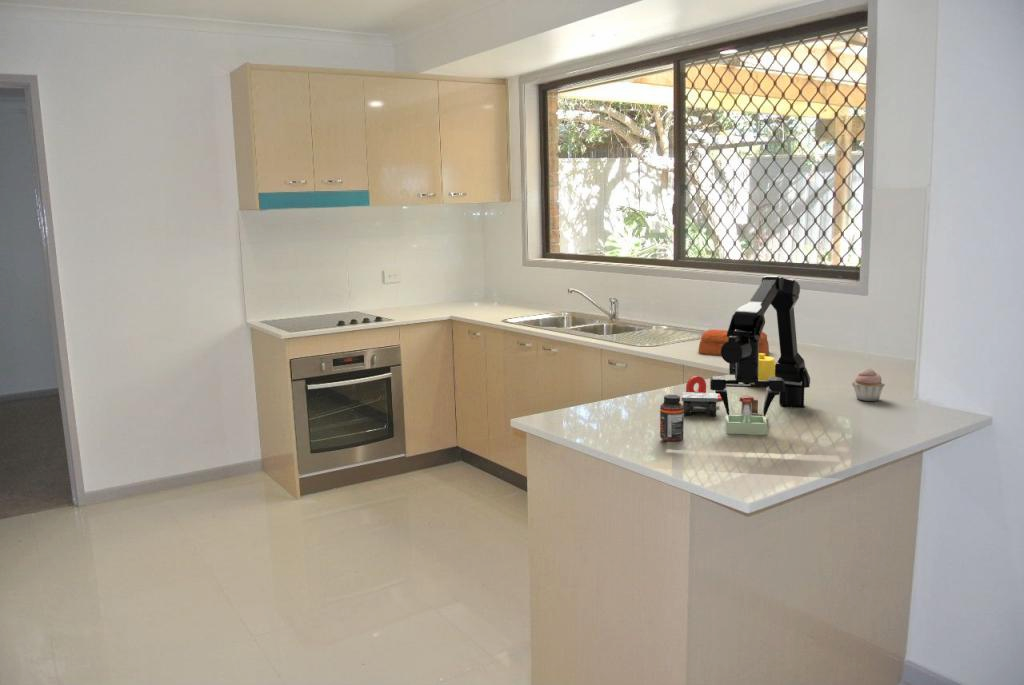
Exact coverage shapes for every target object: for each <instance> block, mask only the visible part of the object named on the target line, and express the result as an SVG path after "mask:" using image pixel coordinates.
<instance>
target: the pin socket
mask: <svg viewBox="0 0 1024 685" xmlns="http://www.w3.org/2000/svg"><path fill="white" fill-rule="evenodd" d="M751 416H763V412H762V413H751ZM765 418H766V421H767V427H769V417H768V415H767V413H766V416H765Z"/></svg>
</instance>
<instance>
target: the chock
mask: <svg viewBox="0 0 1024 685" xmlns="http://www.w3.org/2000/svg"><path fill="white" fill-rule="evenodd" d="M743 396H749V397H753V398H754V402H752V413H758V411H759V409H758V408H759V399H758V396H757V394H756V395H754V394H752V395H751V394H743V395H741V397H743Z"/></svg>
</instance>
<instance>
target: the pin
mask: <svg viewBox="0 0 1024 685" xmlns="http://www.w3.org/2000/svg"><path fill="white" fill-rule="evenodd" d="M739 402H741V409H740V412H741V414H740V415H741V422H745V423H751V413H752V402H754V398H753V397H749V396H743V397H742V396H740V397H739Z"/></svg>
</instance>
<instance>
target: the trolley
mask: <svg viewBox="0 0 1024 685" xmlns="http://www.w3.org/2000/svg"><path fill="white" fill-rule="evenodd" d="M718 395H719V393H715V392H706V393H694V392H686V391H684V392H683V391H682V394H681V401H682V402H683V403H682V405H683V407H684V416H691V412H690V411H692V412H693V413H694V412H695V413H708V417H709V416H710V417H711V416H712V417H713V416H714V417H717V411H720V405H719V406H717V403H718V402H719V401H718Z"/></svg>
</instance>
